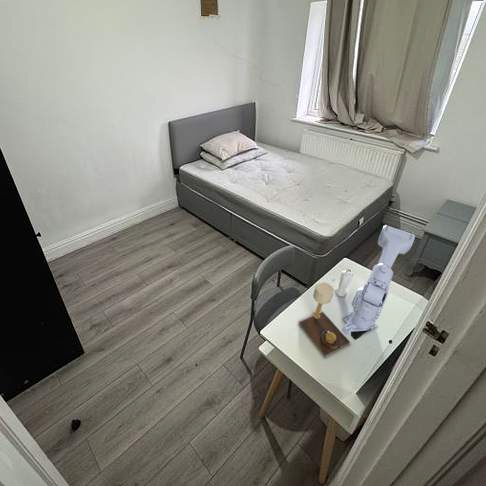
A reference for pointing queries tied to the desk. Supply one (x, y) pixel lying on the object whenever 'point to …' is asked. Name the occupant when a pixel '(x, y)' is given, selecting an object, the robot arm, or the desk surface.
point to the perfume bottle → (344, 282)
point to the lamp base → (323, 334)
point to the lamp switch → (330, 337)
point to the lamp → (322, 296)
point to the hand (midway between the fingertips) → (354, 336)
